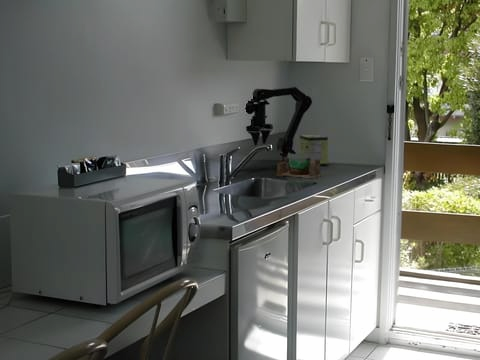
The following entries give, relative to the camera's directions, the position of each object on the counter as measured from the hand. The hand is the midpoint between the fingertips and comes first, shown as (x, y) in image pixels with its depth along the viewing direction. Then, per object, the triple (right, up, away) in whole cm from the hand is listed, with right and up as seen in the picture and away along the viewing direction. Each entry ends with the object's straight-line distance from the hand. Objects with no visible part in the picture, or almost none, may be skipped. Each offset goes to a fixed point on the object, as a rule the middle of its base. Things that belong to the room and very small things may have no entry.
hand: (259, 144), depth 370 cm
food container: (+17, -15, -20) cm, 31 cm away
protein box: (+29, -10, +22) cm, 38 cm away
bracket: (+18, -16, -19) cm, 31 cm away
